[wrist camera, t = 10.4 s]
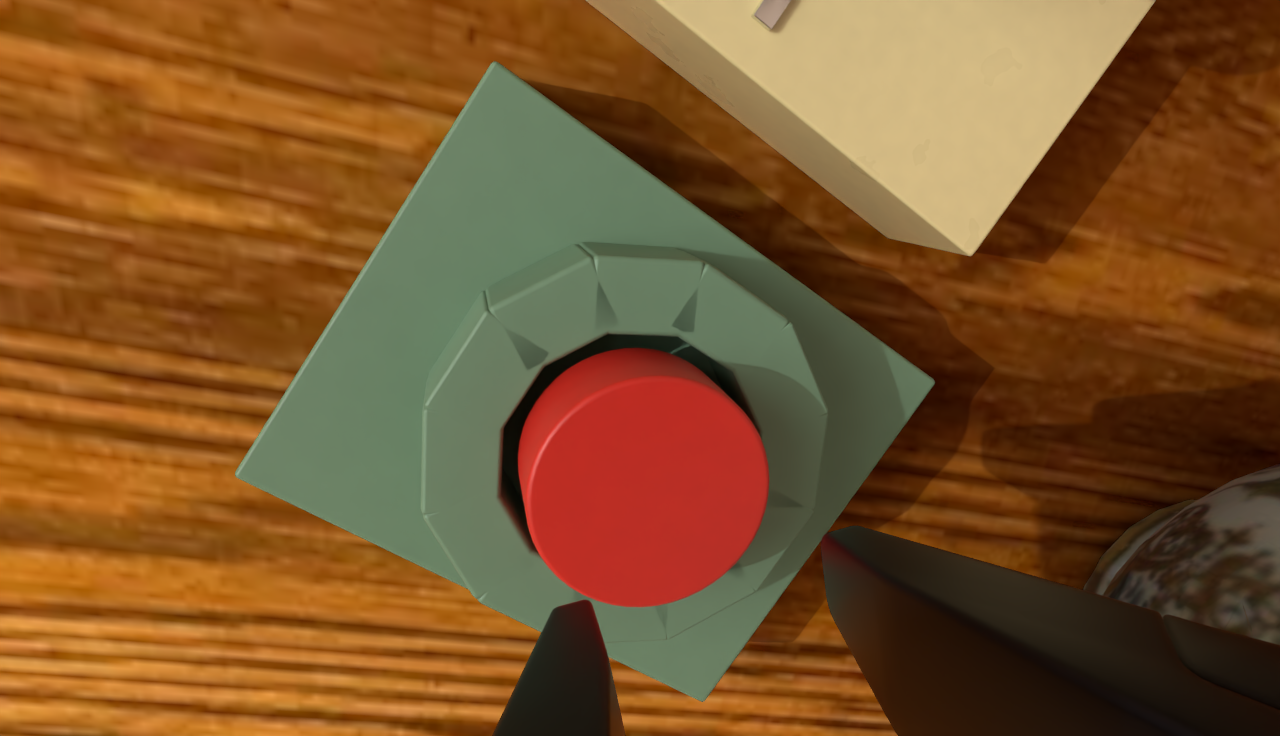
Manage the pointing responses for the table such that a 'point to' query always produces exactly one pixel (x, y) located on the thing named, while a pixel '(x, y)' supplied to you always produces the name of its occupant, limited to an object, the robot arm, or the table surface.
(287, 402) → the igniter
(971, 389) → the table surface
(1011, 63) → the panel
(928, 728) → the robot arm
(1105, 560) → the bowl
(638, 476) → the button
